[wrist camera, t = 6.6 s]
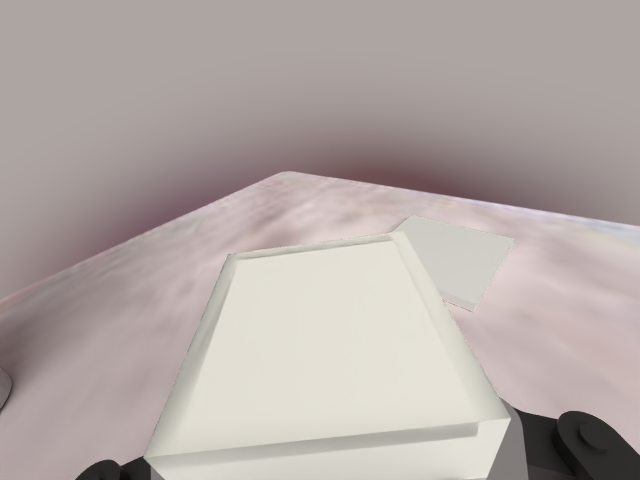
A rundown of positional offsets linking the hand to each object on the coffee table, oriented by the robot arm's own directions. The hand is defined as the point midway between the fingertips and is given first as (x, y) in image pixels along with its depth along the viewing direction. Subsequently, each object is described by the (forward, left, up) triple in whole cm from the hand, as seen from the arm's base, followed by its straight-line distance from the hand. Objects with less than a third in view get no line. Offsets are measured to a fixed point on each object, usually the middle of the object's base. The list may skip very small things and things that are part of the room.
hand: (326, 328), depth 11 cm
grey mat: (-4, +21, -11) cm, 24 cm away
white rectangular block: (+2, -2, -4) cm, 5 cm away
